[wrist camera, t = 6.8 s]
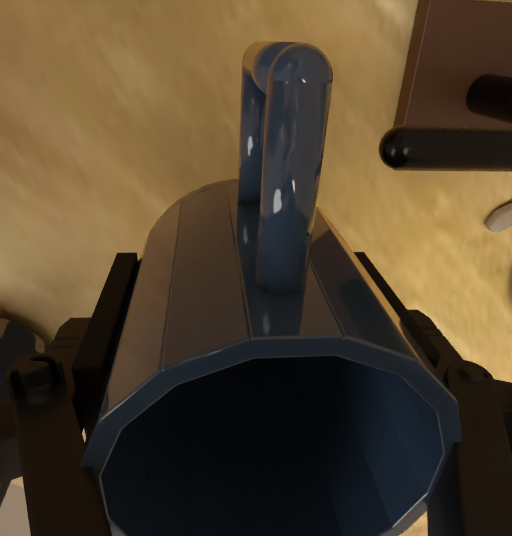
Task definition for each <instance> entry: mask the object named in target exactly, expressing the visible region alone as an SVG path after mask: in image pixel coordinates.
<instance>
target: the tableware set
mask: <svg viewBox="0 0 512 536" xmlns="http://www.w3.org/2000/svg"><path fill="white" fill-rule="evenodd" d="M510 226H512V202H511V203H509V204H507V205H505V206H503V207H501V208H499V209H497V210H495V211H494V213H493V214H492V215H491V216H490V218H489V219H488V220H487V222H486V227H487V228H488V229H489V230H491V231H493V232H495V233H496V232H500V231H503V230H505V229H506V228H508V227H510Z"/></svg>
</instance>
